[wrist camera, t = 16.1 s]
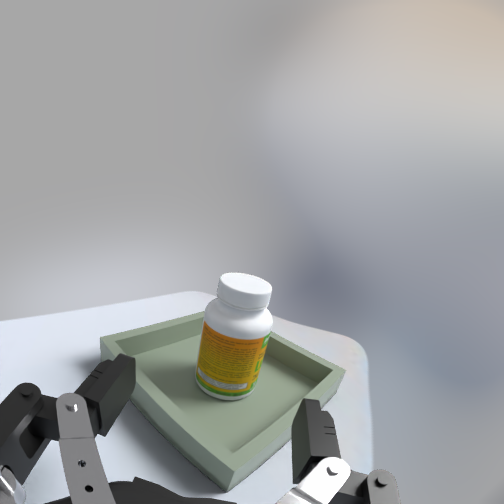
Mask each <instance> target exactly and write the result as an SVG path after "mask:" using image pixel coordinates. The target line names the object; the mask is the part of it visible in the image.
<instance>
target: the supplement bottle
mask: <svg viewBox="0 0 504 504" xmlns="http://www.w3.org/2000/svg"><path fill="white" fill-rule="evenodd" d="M271 292H272V287H271V285H270V284H269V283H268V282H266V281H265V280H263V279H261V278H258V277H255V276H252V275H248V274H243V273H226V274H223V275H222V276H221V277H220V280H219V285H218V288H217V297H218V298H216V299H214V300H212V301H211V302H210V303H209V304H208V305H207V307H206V309H205V313H204V318H203V325H202V331H201V338H200V344H199V351H198V357H197V364H196V371H195V379H196V382H197V384H198V385H199V387H200V388H201V389H202V390H203V391H204V392H205V393H207V394H209V395H210V396H212V397H215V398H218V399H223V400H238V399H242V398H245V397H247V396H248V395H250V394H251V393H252V391H253V390H254V388H255V385H256V382H257V379H258V375H259V372H260V368H261V365H262V361H263V357H264V354H265V350H266V347H267V343H268V340H269V336H270V333H271V329H272V324H273V319H272V316H271V314H270V312H269V311H268V310H267V309H266V308H267V307H268V305H269V301H270V297H271Z"/></svg>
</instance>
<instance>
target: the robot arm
mask: <svg viewBox="0 0 504 504" xmlns="http://www.w3.org/2000/svg"><path fill="white" fill-rule="evenodd" d="M135 384H136V360H135V358H134V357H131V356H128V355H125V354H122V353H120V354H118V356H117V357H116V358H115V359H114V360H113V361H112V360H109V359H107V360H105V361H103V362H101V363H100V364H99V365H98V366H97V367H96V368H95V369H94V371H92V373H91V374H90V376H88V377H87V378H86V379H85V381H84V382H83V383H82V384H81V385H80V386H79V388H78V389H77V390H76V391H75V392H74V393H66V394H63V395H61V396H60V397H59V398H54V397H50V396H46V395H42V394H41V391H40V389H39V388H38V387H37V386H36V385H34V384H32V383H22V384H19V385H18V386H17V387H16V388H15V389H14V390H13V391H12V392H11V393H10V394H9V395H8V396H7V397H6V398H5V399H4V401H3V402H2V403H1V404H0V504H24V502H25V499H26V494H25V491H24V489H23V487H22V485H23V483H24V482H25V480H26V479H27V477H28V475H29V474H30V472H31V470H32V469H33V467H34V466H35V464H36V462H37V461H38V459H39V458H40V456H41V455H42V453H43V451H44V450H45V448H46V447H47V445H48V444H49V442H50V441H51V440H55V441H59V446H60V451H61V457H62V462H63V467H64V472H65V476H66V481H67V485H68V489H69V493H70V496H69V497H66V498H62V499H59V500H56V501H52V502H49V503H45V504H237V503H234V502H228V501H222V500H217V499H212V498H188V497H182V496H180V495H178V494H176V493H174V492H172V491H170V490H168V489H166V488H164V487H162V486H160V485H159V484H155V483H152V482H149V481H146V480H143V479H141V478H138V477H134V480H133V482H129V481H116V482H110V483H108V481H107V478H106V475H105V472H104V469H103V466H102V463H101V460H100V456H99V453H98V449H97V446H96V442H95V437H96V436H97V434H100V435H102V436H104V437H105V436H106V435H107V433H108V432H109V430H110V428H111V427H112V425H113V423H114V422H115V420H116V419H117V417H118V415H119V414H120V412H121V411H122V409H123V407H124V406H125V404H126V403H127V401H128V399H129V398H130V396H131V395H132V393H133V391H134V388H135ZM291 438H292V469H293V484H298V485H297V486H296V487H295V488H292V489H291V490H290V491H289V492H288V493H286V494H285V495H284V496H283V497H282V498H281V499H280V500H279V501H278V502H277V503H275V504H401V500H400V496H399V492H398V488H397V483H396V479H395V477H394V476H393V475H392V474H391V473H390V472H388V471H385V470H374V471H372V472H371V473H370V474H369V475H367V474H362V473H359V472H355V471H352V470H350V468H349V466H348V464H347V463H346V462H345V461H343V460H341V456H340V451H339V445H338V440H337V435H336V430H335V425H334V420H333V418H332V417H331V415H330V414H329V412H328V411H321V406H320V401H319V400H315V399H307V398H303V399H302V401H301V403H300V406H299V408H298V410H297V413H296V415H295V417H294V419H293V423H292V428H291Z"/></svg>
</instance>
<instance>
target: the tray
mask: <svg viewBox="0 0 504 504" xmlns="http://www.w3.org/2000/svg"><path fill="white" fill-rule="evenodd" d="M204 313H205V311H203V312H199V313H196V314H192V315H188V316H184V317H181V318H177V319H173V320H169V321H165V322H161V323H157V324H153V325H149V326H145V327H141V328H137V329H133V330H129V331H125V332H121V333H117V334H112V335H108V336H104V337H100V349H101V362H103V361H105V360H107V359H109V360H112V361H113V360H114V359H115V358H116V357H117V356H118V354H120V353H122V354H125V355H128V356H131V357H134V358H135V360H136V384H135V388H134V391H133V393H132V395H131V396H130V398H129V399H130V400H131V402H132V403H133V404H134V405H135V406H136V407H137V408H138V410H139V411H140V412H141V413H142V414H143V415H144V416H145V417H146V418H147V420H148V421H149V422H150V423H151V424H152V425H153V426H154V427H155V428H156V429H157V430H158V431H159V432H160V433H161V434H162V435H163V436H164V437H165V438H166V439H167V440H168V441H169V442H170V443H171V444H172V445H173V446H174V447H175V448H176V449H177V450H178V451H179V452H180V453H181V454H182V455H183V456H184V457H185V458H186V459H188V460H189V461H190V462H191V463H192V464H193V465H194V466H195V467H196V468H198V469H199V470H200V471H201V472H202V473H203V474H205V475H206V476H207V477H208V478H209V479H210V480H212V481H213V482H214V483H215V484H217V485H218V486H219V487H220V488H222V489H223V490H224V491H225V492H228V491H230V490H231V489H232V488H234V487H235V486H236V485H238V484H239V483H240V482H241V481H243V480H244V479H245V478H247V477H248V476H249V475H250V474H251V473H253V472H254V471H255V470H256V469H258V468H259V467H260V466H261V465H262V464H264V463H265V462H266V461H267V460H268V459H269V458H271V457H272V456H273V455H274V454H275V453H276V452H277V451H278V450H280V449H281V448H282V447H283V446H284V445H285V444H286V443H287V442H288V441H289V440H290V439H291V428H292V423H293V419H294V417H295V415H296V413H297V410H298V408H299V406H300V403H301V401H302V399H303V398H307V399H315V400H319V401H320V406H321V409H322V408H323V407H324V405H325V404H326V403H327V402H328V401H329V400H330V399H331V398H332V397H333V396H334V395H335V394H336V392H337V389H338V387H339V385H340V383H341V381H342V379H343V376H344V374H345V372H346V370H345V369H343V368H341V367H339V366H337V365H335V364H333V363H331V362H329V361H327V360H325V359H323V358H321V357H319V356H317V355H315V354H313V353H311V352H309V351H307V350H305V349H303V348H301V347H300V346H298V345H296V344H294V343H292V342H290V341H288V340H286V339H285V338H283V337H281V336H279V335H277V334H275V333H273V332H272V331H271V333H270V336H269V340H268V343H267V347H266V350H265V354H264V357H263V361H262V365H261V368H260V372H259V375H258V379H257V382H256V385H255V388H254V390H253V391H252V393H251V394H250V395H248V396H247V397H245V398H242V399H238V400H223V399H218V398H215V397H212V396H210V395H209V394H207V393H205V392H204V391H203V390H202V389H201V388H200V387H199V385H198V384H197V382H196V379H195V371H196V364H197V357H198V351H199V344H200V338H201V331H202V325H203V318H204Z"/></svg>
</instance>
